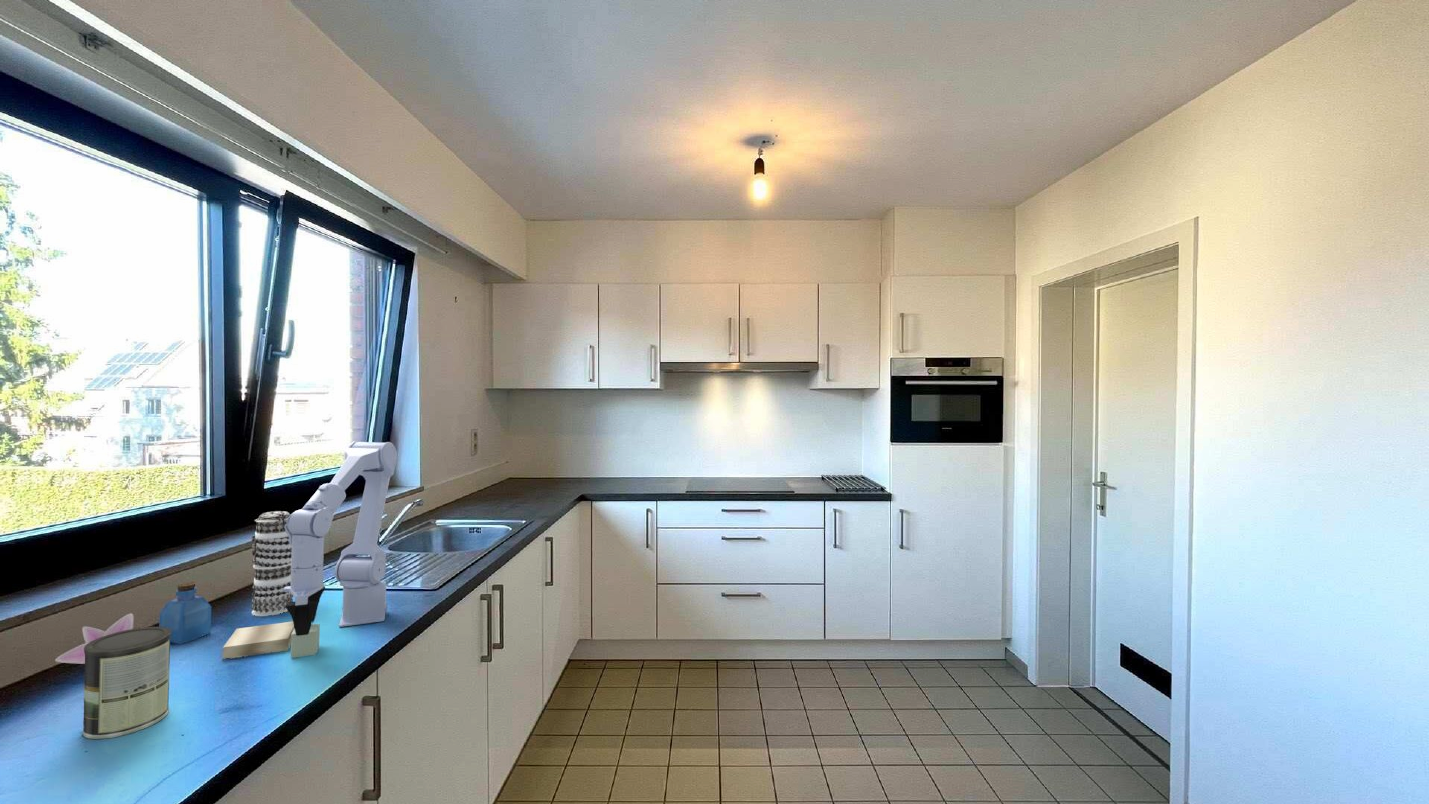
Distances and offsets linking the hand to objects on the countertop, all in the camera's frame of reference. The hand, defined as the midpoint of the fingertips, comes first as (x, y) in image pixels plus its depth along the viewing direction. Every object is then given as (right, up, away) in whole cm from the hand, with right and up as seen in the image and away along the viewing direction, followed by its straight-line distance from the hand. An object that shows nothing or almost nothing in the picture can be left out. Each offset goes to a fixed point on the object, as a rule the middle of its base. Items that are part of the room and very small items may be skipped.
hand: (305, 628), depth 125 cm
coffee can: (-10, -5, -28) cm, 30 cm away
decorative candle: (-25, -5, +23) cm, 34 cm away
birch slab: (-12, -5, +3) cm, 13 cm away
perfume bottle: (-32, -5, +6) cm, 32 cm away
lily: (-31, -5, -11) cm, 34 cm away
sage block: (0, -5, 0) cm, 5 cm away
